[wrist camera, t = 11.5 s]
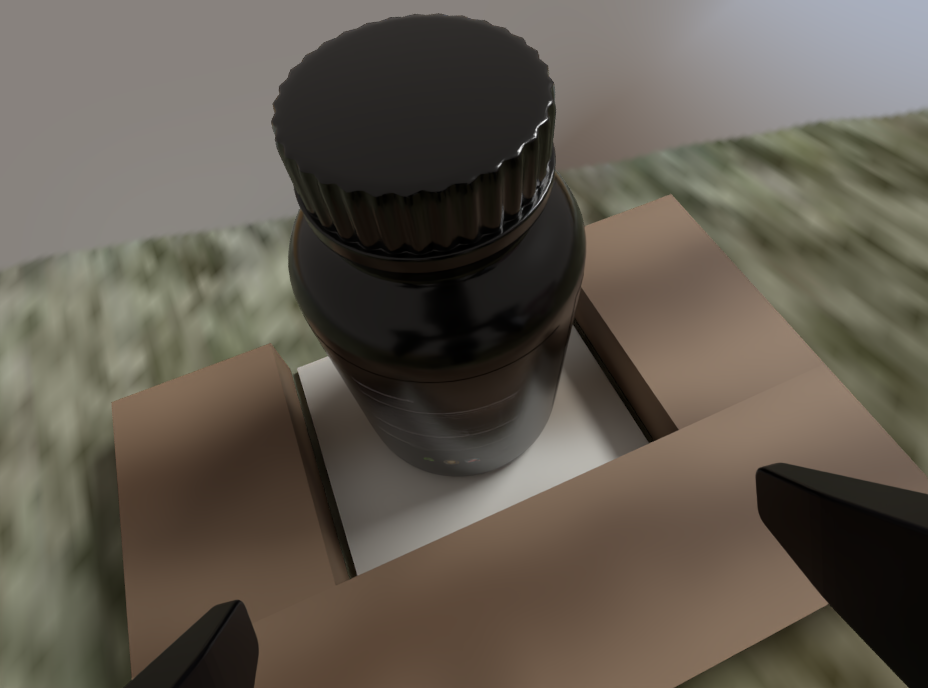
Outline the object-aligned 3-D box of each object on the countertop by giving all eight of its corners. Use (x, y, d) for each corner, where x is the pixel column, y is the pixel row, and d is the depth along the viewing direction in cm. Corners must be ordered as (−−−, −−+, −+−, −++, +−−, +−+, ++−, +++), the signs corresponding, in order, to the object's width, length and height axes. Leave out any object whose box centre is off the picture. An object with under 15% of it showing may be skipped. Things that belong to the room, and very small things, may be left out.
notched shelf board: (920, 539, 16) (971, 526, 14) (200, 924, 12) (152, 969, 11) (657, 228, 23) (671, 194, 21) (146, 424, 19) (111, 402, 18)
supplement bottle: (377, 313, 21) (260, -14, 11) (548, 311, 20) (602, -31, 10) (355, 484, 17) (149, 248, 7) (560, 486, 17) (659, 239, 7)
